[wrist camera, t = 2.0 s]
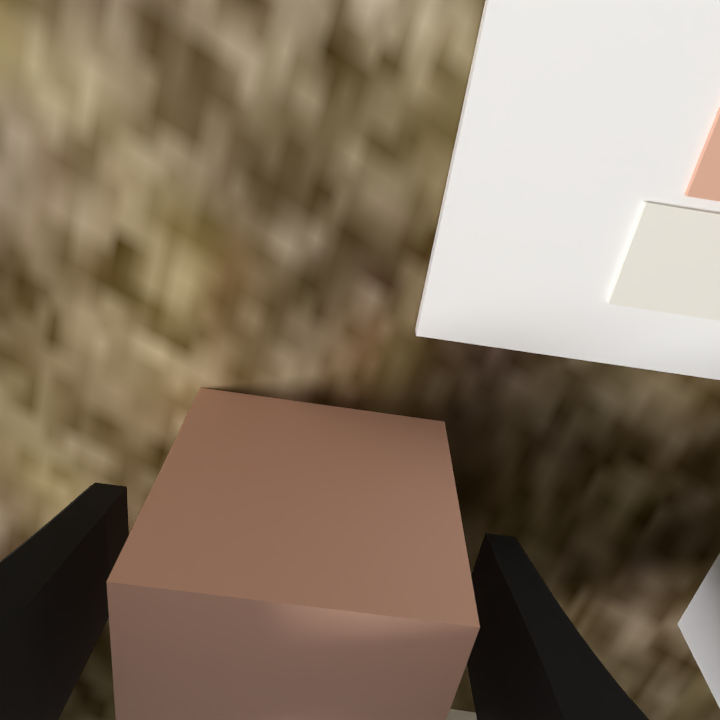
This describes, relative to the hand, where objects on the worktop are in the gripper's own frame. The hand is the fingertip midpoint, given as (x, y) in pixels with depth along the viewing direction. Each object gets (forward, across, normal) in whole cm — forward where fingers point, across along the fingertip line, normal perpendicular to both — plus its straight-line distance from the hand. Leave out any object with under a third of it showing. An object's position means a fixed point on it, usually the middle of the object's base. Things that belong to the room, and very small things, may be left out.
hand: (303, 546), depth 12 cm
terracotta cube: (+2, 0, 0) cm, 2 cm away
